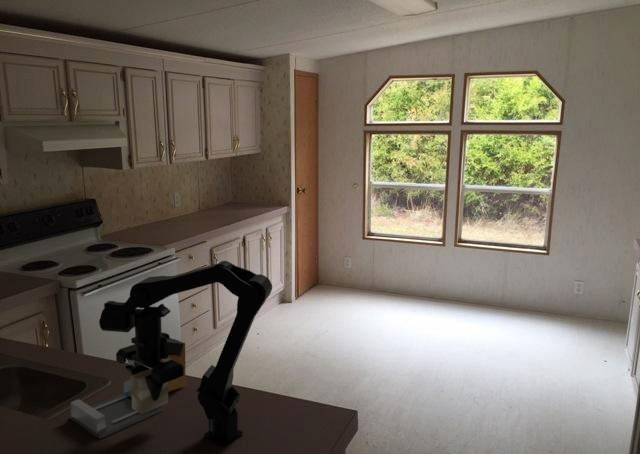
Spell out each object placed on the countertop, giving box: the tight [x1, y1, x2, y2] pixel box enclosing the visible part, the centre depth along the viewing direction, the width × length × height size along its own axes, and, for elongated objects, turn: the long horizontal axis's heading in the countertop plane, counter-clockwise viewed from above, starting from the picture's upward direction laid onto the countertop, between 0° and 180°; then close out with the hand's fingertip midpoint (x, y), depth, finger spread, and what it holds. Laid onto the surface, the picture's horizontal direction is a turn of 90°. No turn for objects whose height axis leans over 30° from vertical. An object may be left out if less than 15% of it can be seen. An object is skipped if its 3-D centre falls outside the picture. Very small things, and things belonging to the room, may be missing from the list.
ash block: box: [130, 369, 169, 414], centre depth 118 cm, size 4×7×8 cm, turn 142°
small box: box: [161, 335, 186, 393], centre depth 139 cm, size 8×6×13 cm
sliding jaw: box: [123, 379, 132, 398], centre depth 130 cm, size 12×2×3 cm, turn 52°
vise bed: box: [69, 392, 164, 440], centre depth 125 cm, size 14×16×4 cm
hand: (150, 397), depth 118 cm, fingers closed on ash block, 4 cm apart
